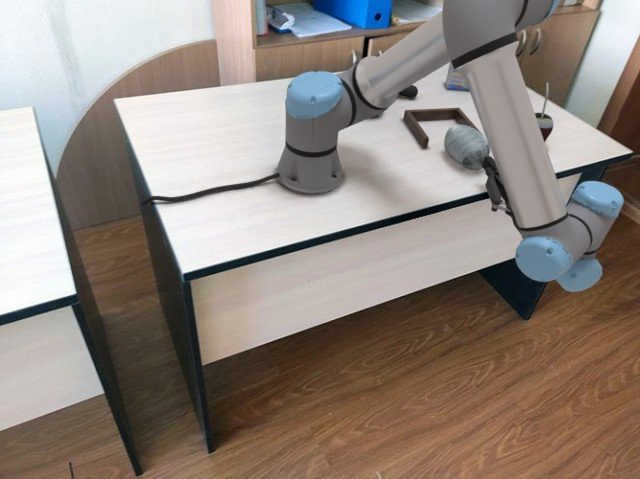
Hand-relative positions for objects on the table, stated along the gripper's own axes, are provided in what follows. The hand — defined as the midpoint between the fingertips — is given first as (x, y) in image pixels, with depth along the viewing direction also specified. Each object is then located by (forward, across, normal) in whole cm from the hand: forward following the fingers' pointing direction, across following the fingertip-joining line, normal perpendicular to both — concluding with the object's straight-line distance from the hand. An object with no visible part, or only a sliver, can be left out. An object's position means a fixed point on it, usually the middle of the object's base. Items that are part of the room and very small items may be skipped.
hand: (486, 161), depth 118 cm
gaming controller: (+52, -4, -6) cm, 52 cm away
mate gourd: (+16, +23, -6) cm, 29 cm away
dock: (+24, 0, -6) cm, 25 cm away
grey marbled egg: (+10, 0, -6) cm, 12 cm away
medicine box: (+51, +17, -6) cm, 54 cm away
